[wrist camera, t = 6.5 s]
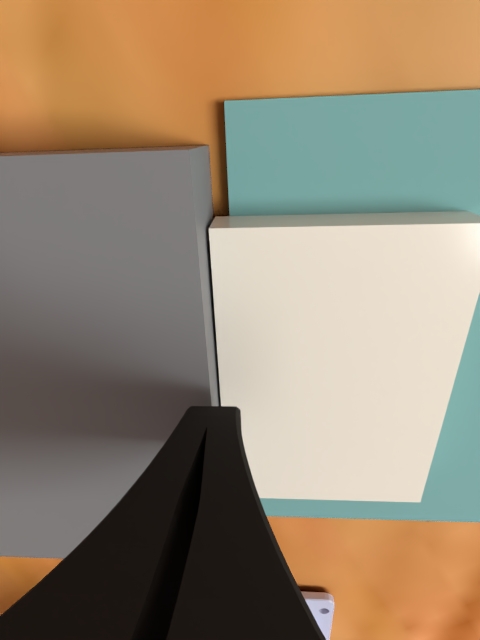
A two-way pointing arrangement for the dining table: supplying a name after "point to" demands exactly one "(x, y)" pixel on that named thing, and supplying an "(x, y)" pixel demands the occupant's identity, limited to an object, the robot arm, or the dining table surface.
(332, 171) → the mat
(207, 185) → the block
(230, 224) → the tile
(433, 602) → the dining table surface
